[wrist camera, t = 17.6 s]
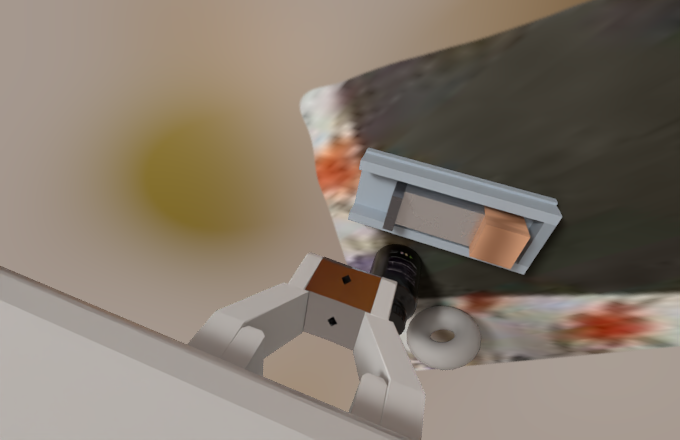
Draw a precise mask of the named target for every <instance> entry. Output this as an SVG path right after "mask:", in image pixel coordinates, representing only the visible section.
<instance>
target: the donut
mask: <svg viewBox="0 0 680 440" xmlns="http://www.w3.org/2000/svg"><path fill="white" fill-rule="evenodd" d="M441 329H445V330H449V331H452V332H453V333H454V334H455V337H454V338H453V339H452V340H450V341H448V342H436V341H434V340H432V339H431V338H430V336H431V334H432V333H433V332H435V331H437V330H441ZM480 343H481V334H480V331H479V328H478V325H477V324H476V323H475V321H474V320H473V319H472V317H470V316H469V315H468V314H466V313H465V312H463V311H462V310H459V309H456V308H454V307H447V306H436V307H431V308H428V309H425V310H423V311H421V312H420V313H418V314H417V315H416V316H415V317H414V318H413V319H412V320H411V322H410V324H409V326H408V329H407V344H408V346H409V348H410V350H411V352H412V354H413V355H414V356H415V357H416V358H417V359H418V360H419V361H420V362H422V363H423V364H425V365H427V366H429V367H431V368H436V369H440V370H451V369H456V368H459V367H462V366H465V365H466V364H468V363H469V362H470V361H471V360H473V359H474V358H475V356H476V355H477V353H478V351H479V350H480Z"/></svg>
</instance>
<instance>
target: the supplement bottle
mask: <svg viewBox="0 0 680 440" xmlns="http://www.w3.org/2000/svg"><path fill="white" fill-rule="evenodd" d="M370 273H371V274H374V275H377V276H380V277H381V278H382V277H384V278H387V279H390V280H393V281H396V282H397V288H396V292H395V296H394V300H393V304H392V309H391V313H390V317H389V321H391V322H393V323H394V325H395V327H396V330H397V332H398V334H399V335H400V334H402V332H403V331H404V329H405V323H406V321H407V319H409V318H410V317H411V316H412V315H413V314H414V312H415V310H416V307H417V300H418V292H419V284H420V276H421V261H420V258H419V256H418V255H417V254H416V253H415V252H414V251H413V250H412V249H410V248H409V247H407V246H404V245H400V244H391V245H387V246H385V247H383V248H381V249H380V250H379V251H378V252H377V254H376V256H375V258H374V261H373V264H372V267H371V270H370Z"/></svg>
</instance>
